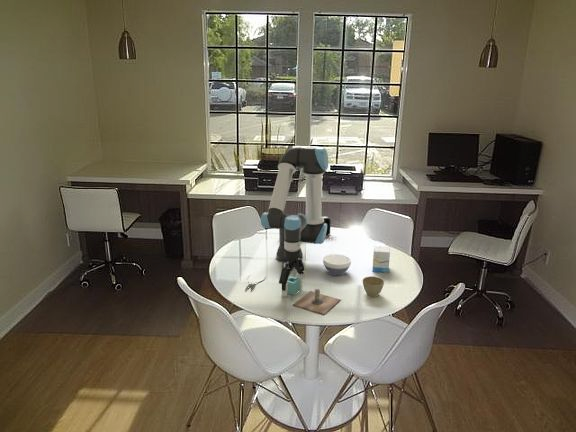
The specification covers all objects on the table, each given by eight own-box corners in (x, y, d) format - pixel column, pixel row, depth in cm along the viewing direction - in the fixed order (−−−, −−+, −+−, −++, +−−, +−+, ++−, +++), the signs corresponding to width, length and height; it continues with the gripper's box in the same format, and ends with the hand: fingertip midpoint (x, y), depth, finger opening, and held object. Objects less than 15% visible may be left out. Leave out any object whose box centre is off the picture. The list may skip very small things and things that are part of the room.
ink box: (388, 273, 238) (390, 252, 235) (372, 271, 240) (373, 251, 237) (388, 266, 246) (389, 246, 243) (372, 265, 248) (373, 245, 245)
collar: (283, 292, 216) (283, 280, 214) (289, 287, 221) (290, 276, 219) (293, 295, 213) (294, 283, 211) (300, 290, 218) (300, 279, 216)
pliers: (266, 274, 235) (265, 291, 216) (266, 275, 235) (265, 292, 216) (247, 274, 235) (245, 291, 216) (247, 275, 235) (245, 292, 216)
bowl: (334, 264, 248) (335, 252, 246) (355, 272, 239) (356, 259, 236) (317, 272, 239) (317, 258, 237) (338, 280, 229) (338, 266, 227)
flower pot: (359, 290, 218) (360, 276, 216) (379, 289, 219) (380, 276, 217) (364, 299, 209) (365, 285, 207) (385, 299, 210) (386, 285, 208)
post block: (292, 305, 203) (293, 292, 201) (310, 292, 216) (310, 279, 214) (324, 315, 195) (324, 301, 193) (340, 300, 208) (341, 287, 206)
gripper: (285, 258, 199) (284, 302, 205) (312, 243, 219) (311, 283, 225) (271, 255, 203) (271, 298, 209) (298, 240, 222) (298, 280, 229)
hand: (291, 290), depth 217 cm, fingers open, 12 cm apart
